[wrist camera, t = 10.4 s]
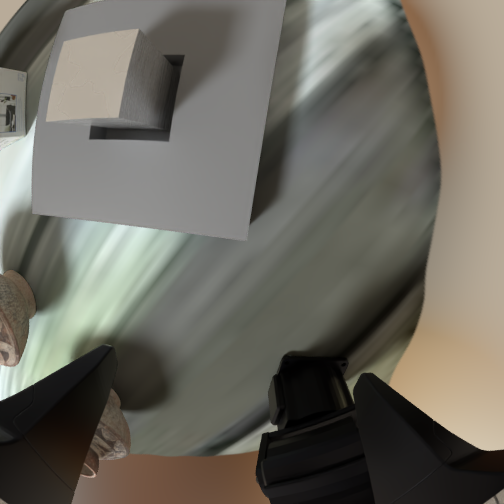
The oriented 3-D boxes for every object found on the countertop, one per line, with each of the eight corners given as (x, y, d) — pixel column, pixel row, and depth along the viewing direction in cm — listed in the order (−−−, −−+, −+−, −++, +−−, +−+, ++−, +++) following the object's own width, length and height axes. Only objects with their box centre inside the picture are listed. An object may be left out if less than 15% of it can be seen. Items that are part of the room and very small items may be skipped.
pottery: (16, 228, 19) (-73, 280, 7) (161, 413, 26) (141, 501, 15) (-18, 276, 20) (-80, 325, 9) (103, 424, 28) (79, 492, 17)
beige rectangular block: (180, 75, 15) (139, 28, 8) (169, 130, 16) (118, 117, 9) (126, 75, 15) (63, 41, 7) (116, 129, 16) (45, 121, 8)
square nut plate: (281, 17, 14) (286, -2, 11) (246, 228, 19) (246, 241, 17) (83, 22, 13) (65, 10, 10) (54, 205, 18) (32, 213, 15)
